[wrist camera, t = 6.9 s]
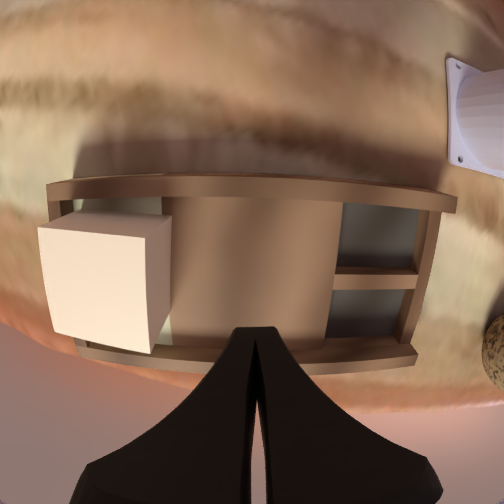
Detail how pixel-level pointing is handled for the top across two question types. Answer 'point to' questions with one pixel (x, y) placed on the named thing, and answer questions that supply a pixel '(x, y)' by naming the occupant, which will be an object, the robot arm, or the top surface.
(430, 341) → the top surface
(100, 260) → the ivory block
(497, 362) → the decorative egg
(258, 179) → the box
